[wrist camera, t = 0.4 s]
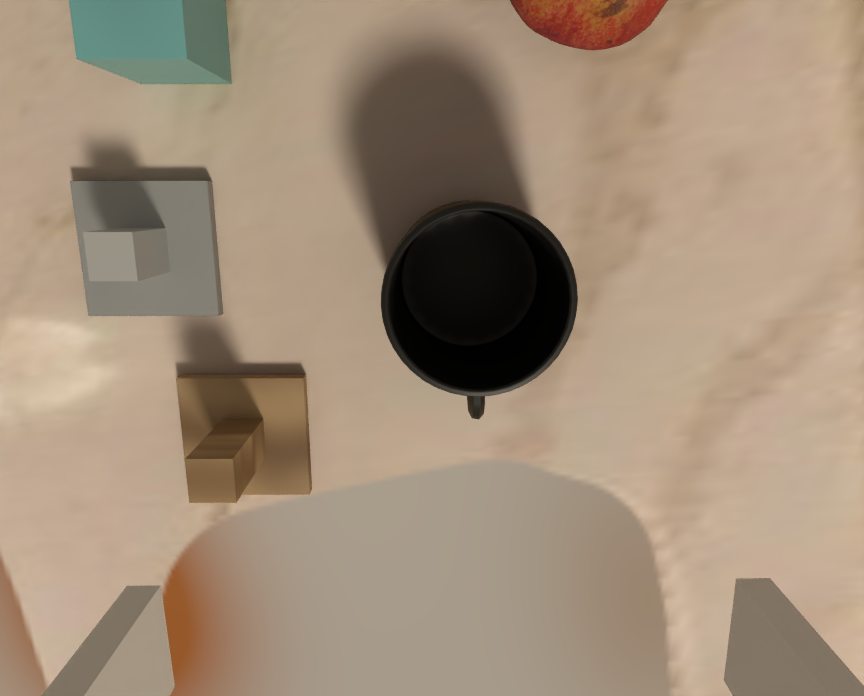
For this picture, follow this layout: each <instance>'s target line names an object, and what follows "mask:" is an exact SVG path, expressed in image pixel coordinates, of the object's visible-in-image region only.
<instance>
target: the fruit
mask: <svg viewBox="0 0 864 696" xmlns="http://www.w3.org/2000/svg"><path fill="white" fill-rule="evenodd" d="M510 1H511V3H512V5H513V7H514V8H515V10H516V12H517V13H518V14H519V16H520V17H521V19H522V20H523V21H524V22H525V24H526V25H527V26H528V27H529V28H531V29H532V30H533V31H535V32H536V33H538V34H540V35H542V36H544V37H546V38H548V39H550V40H551V41H554V42H557V43H559V44H562V45H566V46H570V47H574V48H579V49H585V50H601V49H608V48H612V47H615V46H620V45H622V44H624V43H626V42H628V41H630V40H632V39H633V38H634V37H636V36H637V35H638V34H640V33H641V32H643V31H644V30H645V29H646V28H647V27H648V26H650V25H651V23H652V22H653V21H654V19H655V18H656V17H657V15H658V14H659V12H660V11H661V9H662V8H663V6H664V5H665V3H666V2H667V1H668V0H510Z"/></svg>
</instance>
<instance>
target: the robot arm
mask: <svg viewBox="0 0 864 696" xmlns="http://www.w3.org/2000/svg"><path fill="white" fill-rule="evenodd" d="M724 681H725V683H726V685H727V686H728V688H729V690H730V691H731V693H732V695H733V696H864V686H863V685H862V683H861V682H860V681H859V680H858V679H857V678H856V677H855V675H854V674H853V673H852V672H851V671H850V670H849V668H848V667H847V666H846V665H845V664H844V663H843V662H842V660H841V659H840V658H839V657H838V656H837V655H836V654H835V652H834V651H833V650H832V649H831V648H830V647H829V646H828V644H827V643H826V642H825V641H824V640H823V639H822V637H821V636H820V635H819V634H818V633H817V632H816V631H815V629H814V628H813V627H812V626H811V625H810V624H809V623H808V621H807V620H806V619H805V618H804V617H803V616H802V615H801V613H800V612H799V611H798V610H797V609H796V608H795V606H794V605H793V604H792V603H791V602H790V601H789V600H788V598H787V597H786V596H785V595H784V594H783V593H782V592H781V590H780V589H779V588H778V587H777V586H776V585H775V584H774V582H773V581H772V580H771V579H770V578H754V579H736V584H735V593H734V601H733V609H732V617H731V626H730V634H729V642H728V650H727V659H726V667H725V675H724ZM174 686H175V685H174V677H173V670H172V663H171V657H170V649H169V642H168V635H167V628H166V621H165V614H164V607H163V600H162V593H161V586H127V587H126V588H125V589H124V591H123V592H122V593H121V594H120V596H119V597H118V598H117V600H116V601H115V602H114V603H113V605H112V606H111V607H110V609H109V610H108V611H107V612H106V614H105V615H104V616H103V618H102V619H101V620H100V621H99V623H98V624H97V625H96V627H95V628H94V629H93V630H92V632H91V633H90V634H89V636H88V637H87V638H86V639H85V641H84V642H83V643H82V645H81V646H80V647H79V648H78V650H77V651H76V652H75V654H74V655H73V656H72V657H71V659H70V660H69V661H68V663H67V664H66V665H65V666H64V668H63V669H62V670H61V672H60V673H59V674H58V675H57V677H56V678H55V679H54V681H53V682H52V683H51V684H50V686H49V687H48V688H47V690H46V691H45V692H44V694H43V695H42V696H170V694H171V692H172V690H173V688H174Z"/></svg>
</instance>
